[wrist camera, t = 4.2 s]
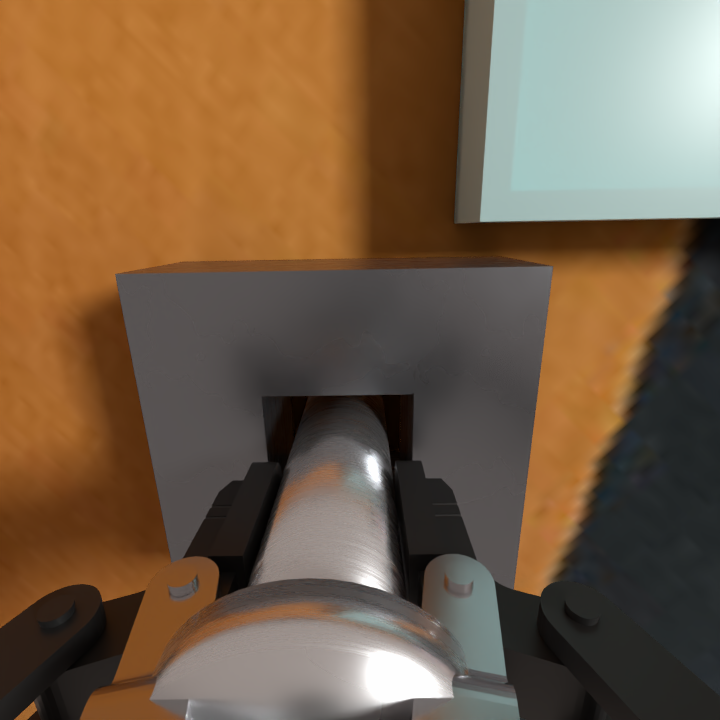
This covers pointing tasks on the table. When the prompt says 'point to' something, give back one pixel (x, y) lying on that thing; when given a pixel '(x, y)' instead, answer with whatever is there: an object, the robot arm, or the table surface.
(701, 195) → the tray
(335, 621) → the steel pin
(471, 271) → the hitch block
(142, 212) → the table surface
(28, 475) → the table surface
